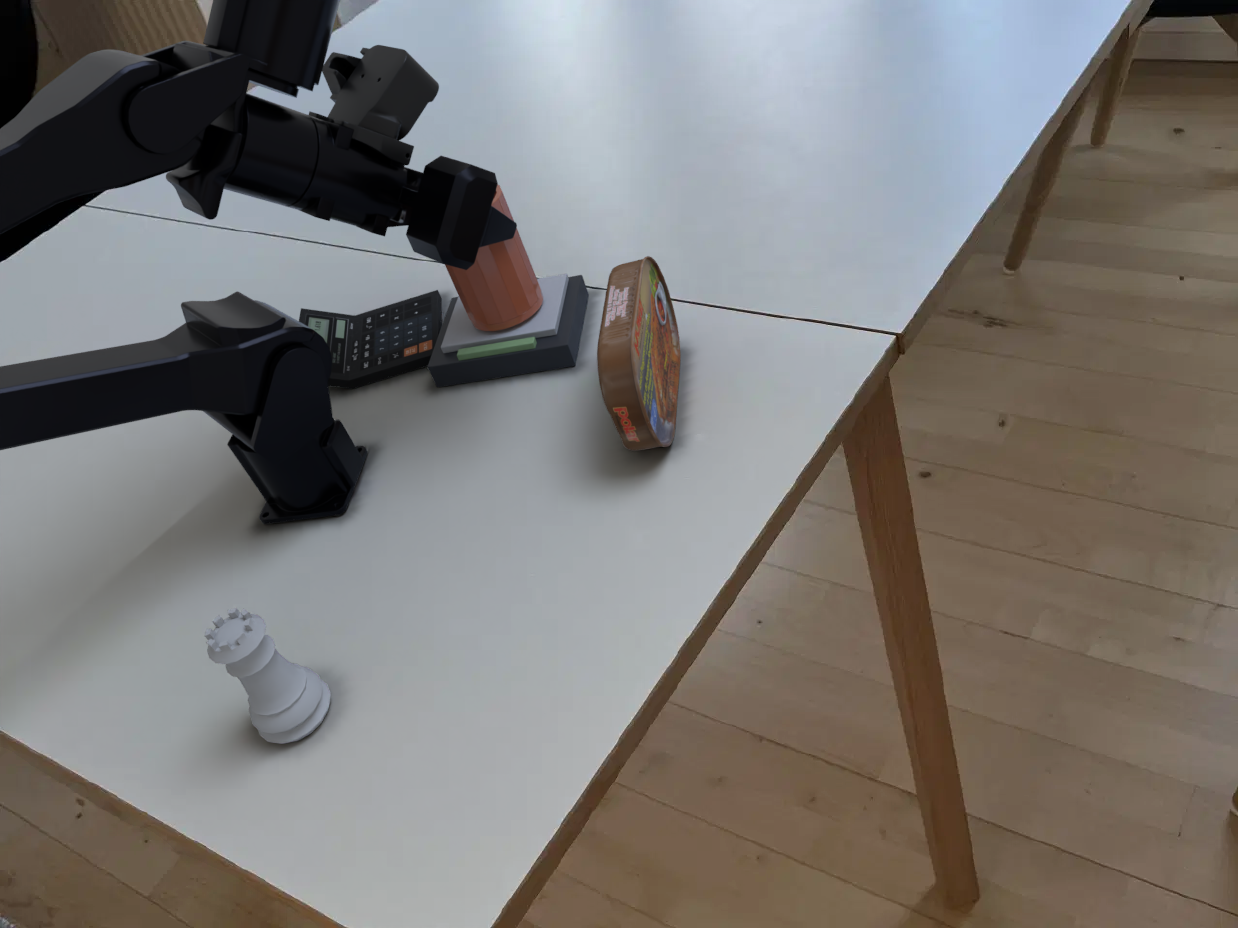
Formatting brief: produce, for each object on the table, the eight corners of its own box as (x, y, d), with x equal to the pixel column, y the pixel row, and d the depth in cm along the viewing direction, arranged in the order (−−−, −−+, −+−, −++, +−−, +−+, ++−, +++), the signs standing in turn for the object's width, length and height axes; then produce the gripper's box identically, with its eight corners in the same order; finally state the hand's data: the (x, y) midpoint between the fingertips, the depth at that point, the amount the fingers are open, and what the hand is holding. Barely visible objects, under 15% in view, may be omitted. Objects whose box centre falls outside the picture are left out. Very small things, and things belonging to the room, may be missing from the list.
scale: (436, 387, 81) (423, 361, 79) (460, 317, 87) (448, 291, 85) (575, 366, 78) (565, 338, 76) (589, 295, 84) (579, 267, 83)
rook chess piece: (315, 667, 63) (249, 579, 58) (347, 710, 60) (281, 622, 55) (249, 716, 61) (175, 631, 56) (278, 763, 58) (204, 677, 53)
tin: (671, 474, 67) (638, 370, 61) (623, 480, 68) (586, 378, 62) (684, 329, 78) (656, 230, 72) (642, 336, 78) (612, 238, 73)
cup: (535, 323, 78) (490, 214, 72) (463, 337, 79) (414, 231, 74) (550, 281, 82) (509, 175, 77) (481, 295, 84) (436, 192, 78)
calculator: (442, 361, 83) (428, 330, 81) (302, 404, 84) (284, 374, 82) (441, 298, 90) (428, 268, 88) (312, 338, 91) (296, 309, 89)
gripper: (412, 43, 58) (608, 130, 70) (258, 15, 70) (446, 94, 82) (358, 242, 60) (556, 295, 72) (217, 181, 72) (406, 235, 84)
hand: (487, 221), depth 77 cm, fingers closed on cup, 6 cm apart
